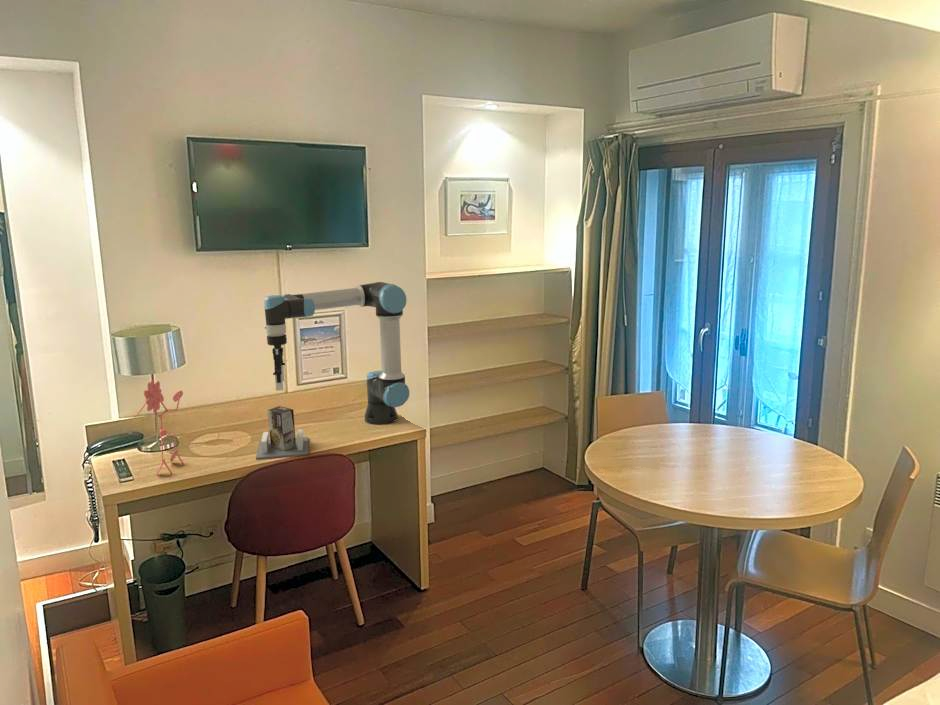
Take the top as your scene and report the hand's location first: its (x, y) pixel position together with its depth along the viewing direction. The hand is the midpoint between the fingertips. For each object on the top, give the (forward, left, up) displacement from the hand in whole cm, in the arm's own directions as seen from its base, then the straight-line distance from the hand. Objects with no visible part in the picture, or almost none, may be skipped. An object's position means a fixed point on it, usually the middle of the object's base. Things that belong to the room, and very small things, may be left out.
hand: (280, 385), depth 278 cm
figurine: (+46, +12, -27) cm, 54 cm away
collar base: (+1, +1, -27) cm, 27 cm away
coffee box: (+1, +1, -26) cm, 26 cm away
